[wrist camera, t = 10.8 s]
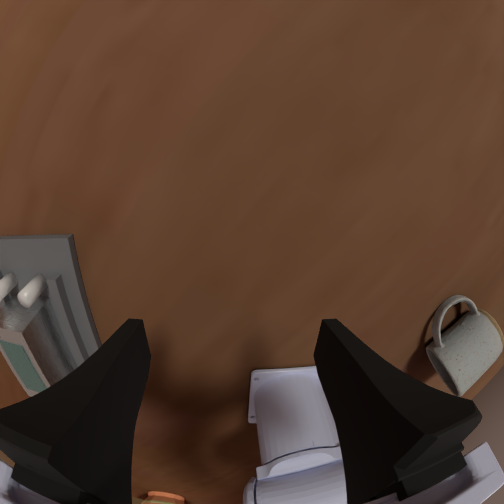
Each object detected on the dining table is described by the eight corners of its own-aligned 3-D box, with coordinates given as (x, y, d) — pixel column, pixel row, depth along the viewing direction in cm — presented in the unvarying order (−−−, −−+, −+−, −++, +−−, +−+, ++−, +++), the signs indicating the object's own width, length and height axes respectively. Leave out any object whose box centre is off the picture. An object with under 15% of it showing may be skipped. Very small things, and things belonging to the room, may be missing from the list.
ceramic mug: (476, 326, 27) (508, 361, 20) (431, 365, 28) (458, 406, 21) (467, 274, 23) (512, 311, 16) (412, 323, 24) (451, 372, 17)
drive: (79, 370, 23) (63, 407, 18) (46, 363, 22) (28, 396, 17) (49, 297, 19) (21, 333, 14) (14, 293, 18) (-14, 325, 14)
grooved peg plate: (125, 401, 26) (118, 427, 22) (44, 384, 25) (34, 405, 21) (72, 234, 18) (47, 255, 14) (-17, 236, 17) (-40, 253, 13)
